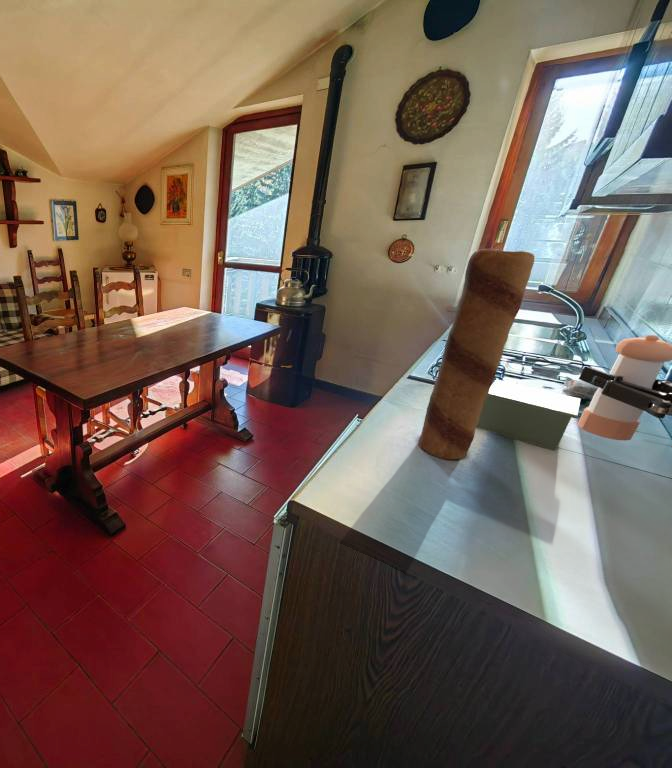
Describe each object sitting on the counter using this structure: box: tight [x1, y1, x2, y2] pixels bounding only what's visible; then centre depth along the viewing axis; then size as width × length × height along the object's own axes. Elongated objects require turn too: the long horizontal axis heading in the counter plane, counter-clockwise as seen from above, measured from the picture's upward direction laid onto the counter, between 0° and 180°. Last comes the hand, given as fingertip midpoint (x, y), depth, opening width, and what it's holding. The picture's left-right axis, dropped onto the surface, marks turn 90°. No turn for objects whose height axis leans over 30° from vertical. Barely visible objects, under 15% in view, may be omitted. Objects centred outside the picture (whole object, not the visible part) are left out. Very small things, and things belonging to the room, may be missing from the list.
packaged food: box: [562, 380, 599, 402], centre depth 122 cm, size 9×12×5 cm
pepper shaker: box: [576, 334, 672, 441], centre depth 72 cm, size 7×7×19 cm
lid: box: [487, 379, 582, 419], centre depth 98 cm, size 17×14×1 cm
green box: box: [476, 396, 572, 452], centre depth 101 cm, size 16×14×9 cm
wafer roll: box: [417, 248, 536, 460], centre depth 84 cm, size 10×11×45 cm
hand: (600, 373), depth 76 cm, fingers closed on pepper shaker, 5 cm apart
